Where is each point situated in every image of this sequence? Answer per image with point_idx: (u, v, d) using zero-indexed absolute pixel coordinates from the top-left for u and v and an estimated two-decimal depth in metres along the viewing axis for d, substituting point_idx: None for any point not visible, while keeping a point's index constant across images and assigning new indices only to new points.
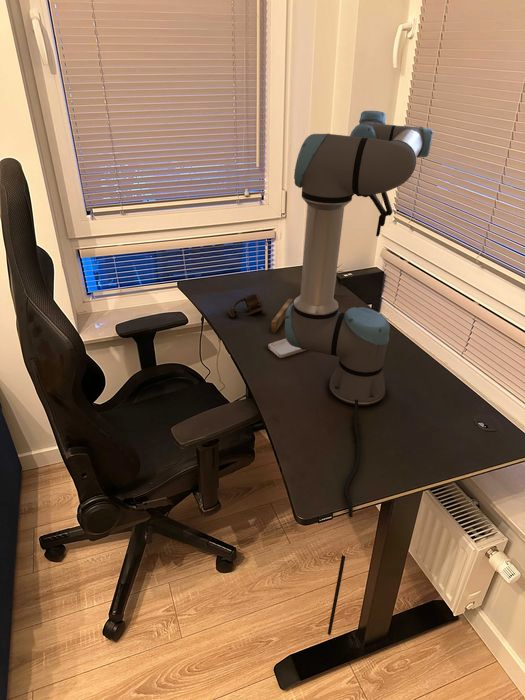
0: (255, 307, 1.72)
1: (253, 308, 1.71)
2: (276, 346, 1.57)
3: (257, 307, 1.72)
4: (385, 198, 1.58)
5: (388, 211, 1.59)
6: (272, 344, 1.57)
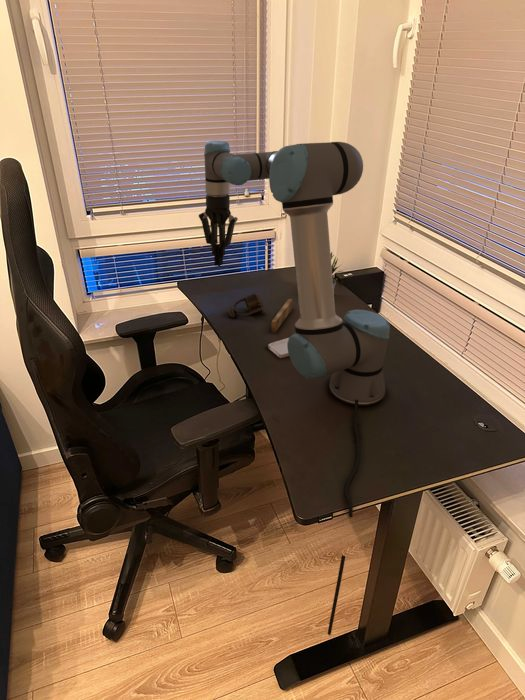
0: (255, 307, 1.72)
1: (253, 308, 1.71)
2: (276, 346, 1.57)
3: (257, 307, 1.72)
4: (229, 231, 1.61)
5: (226, 242, 1.63)
6: (272, 344, 1.57)
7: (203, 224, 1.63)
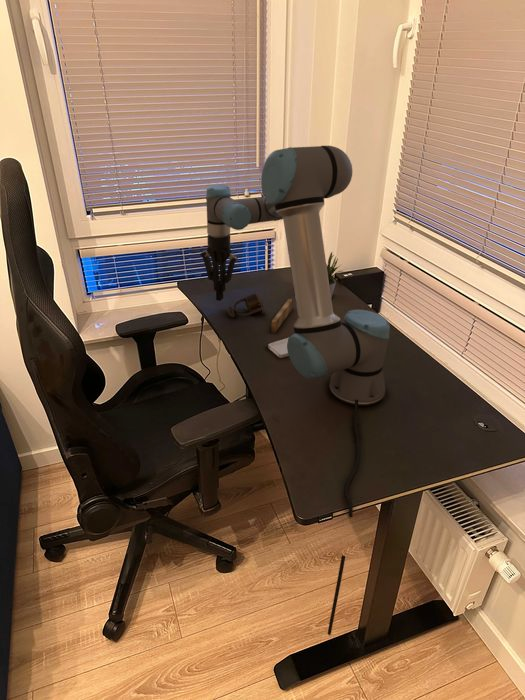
0: (255, 307, 1.72)
1: (253, 308, 1.71)
2: (276, 346, 1.57)
3: (257, 307, 1.72)
4: (229, 269, 1.68)
5: (226, 279, 1.70)
6: (272, 344, 1.57)
7: (205, 262, 1.70)
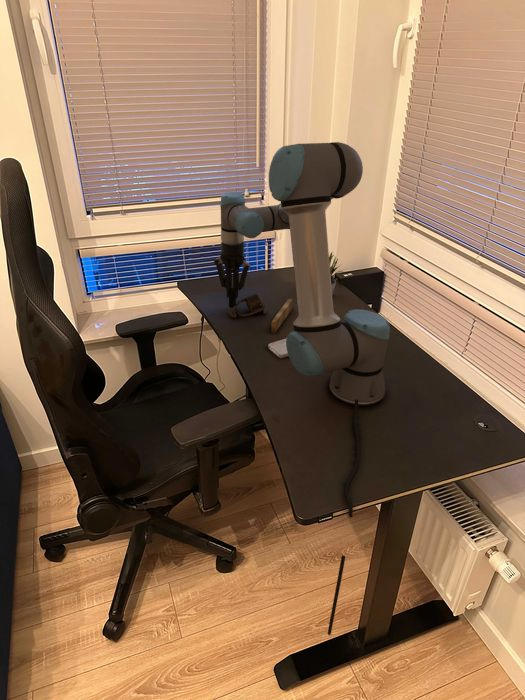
0: (256, 307, 1.72)
1: (255, 308, 1.71)
2: (276, 346, 1.57)
3: (258, 307, 1.72)
4: (243, 276, 1.67)
5: (239, 286, 1.70)
6: (272, 344, 1.57)
7: (218, 269, 1.69)
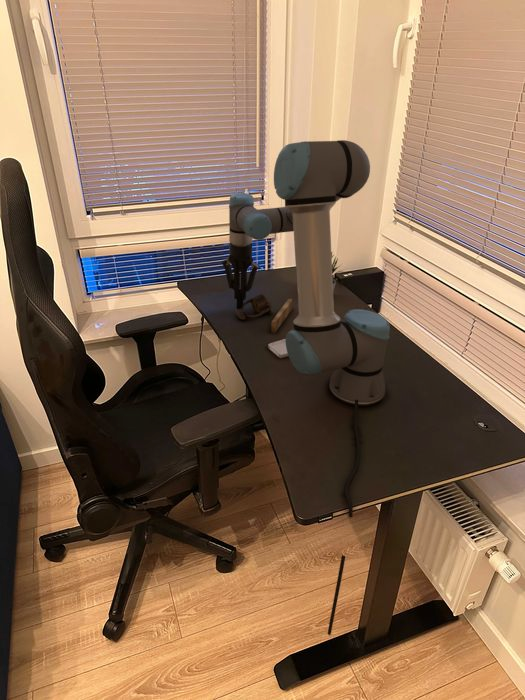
0: (264, 307, 1.72)
1: (262, 309, 1.71)
2: (276, 346, 1.57)
3: (266, 307, 1.72)
4: (251, 277, 1.66)
5: (247, 288, 1.69)
6: (272, 344, 1.57)
7: (226, 270, 1.68)
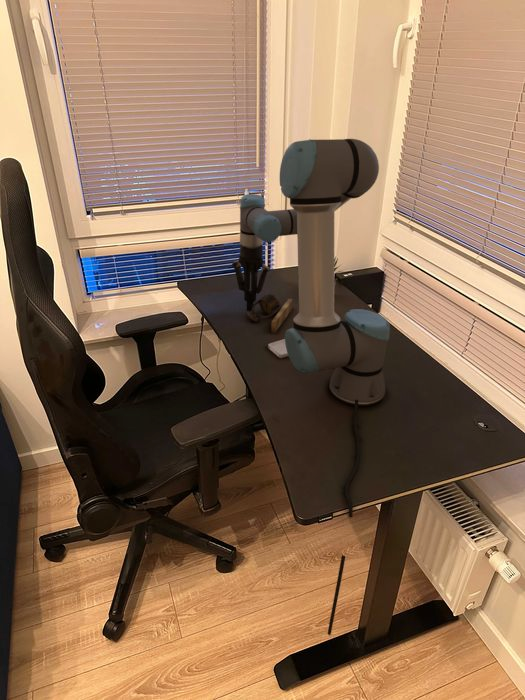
0: (275, 307, 1.72)
1: (273, 308, 1.72)
2: (276, 346, 1.57)
3: (277, 307, 1.72)
4: (262, 279, 1.65)
5: (257, 289, 1.68)
6: (272, 344, 1.57)
7: (236, 272, 1.67)
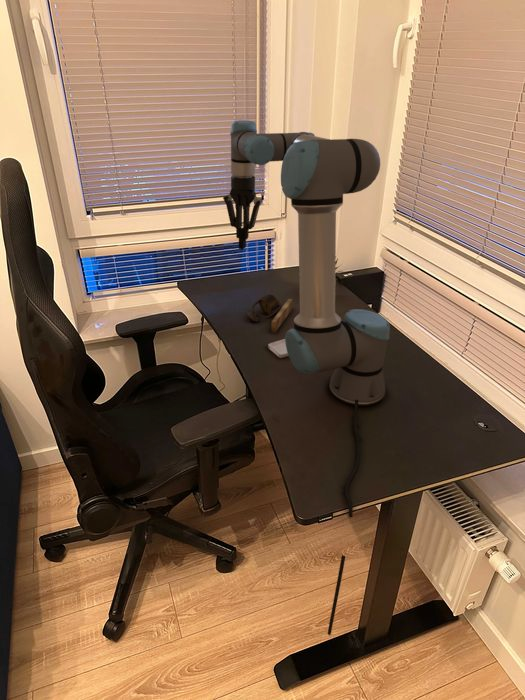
0: (275, 307, 1.72)
1: (273, 308, 1.72)
2: (276, 346, 1.57)
3: (277, 307, 1.72)
4: (254, 213, 1.59)
5: (250, 225, 1.62)
6: (272, 344, 1.57)
7: (228, 206, 1.61)
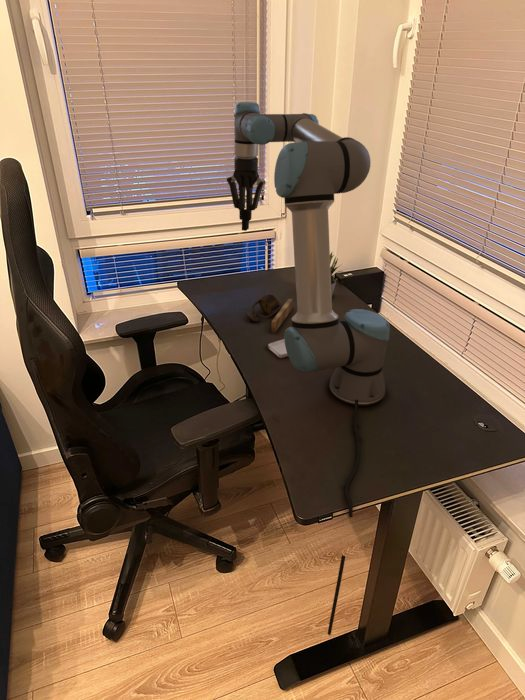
0: (275, 307, 1.72)
1: (273, 308, 1.72)
2: (276, 346, 1.57)
3: (277, 307, 1.72)
4: (257, 194, 1.62)
5: (253, 206, 1.65)
6: (272, 344, 1.57)
7: (231, 188, 1.64)
